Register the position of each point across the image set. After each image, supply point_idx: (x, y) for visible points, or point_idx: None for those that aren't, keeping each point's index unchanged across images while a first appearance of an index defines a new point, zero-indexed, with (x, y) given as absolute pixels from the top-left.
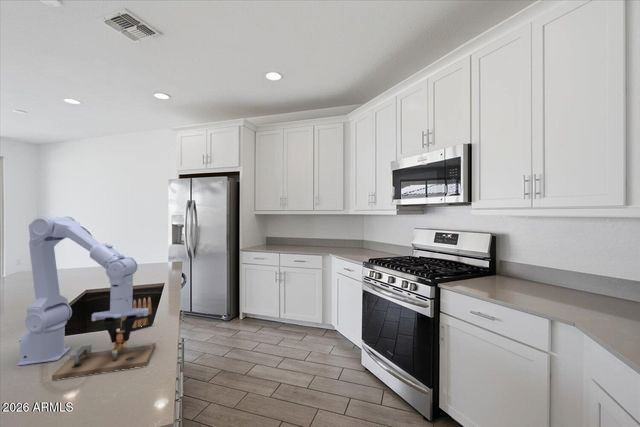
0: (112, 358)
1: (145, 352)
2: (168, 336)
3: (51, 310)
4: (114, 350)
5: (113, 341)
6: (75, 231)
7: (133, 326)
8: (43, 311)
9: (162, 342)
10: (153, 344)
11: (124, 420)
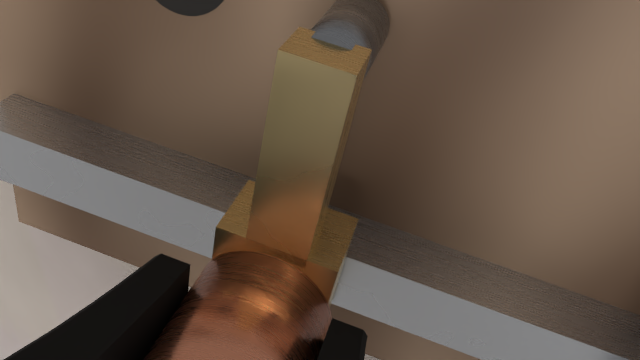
0: (383, 34)
1: (45, 46)
2: (10, 322)
3: None
4: (320, 58)
5: (335, 335)
6: None
7: None
8: None
9: (22, 252)
10: (27, 202)
11: None
